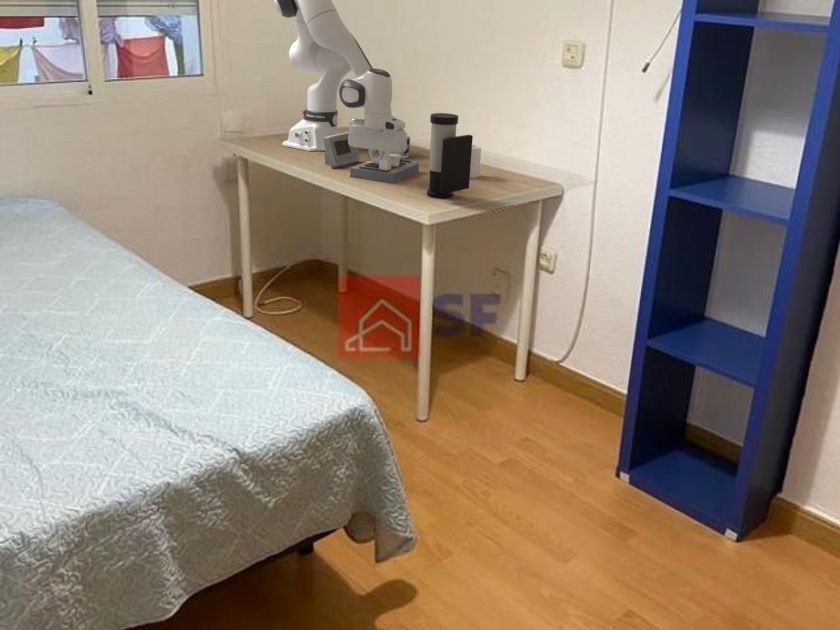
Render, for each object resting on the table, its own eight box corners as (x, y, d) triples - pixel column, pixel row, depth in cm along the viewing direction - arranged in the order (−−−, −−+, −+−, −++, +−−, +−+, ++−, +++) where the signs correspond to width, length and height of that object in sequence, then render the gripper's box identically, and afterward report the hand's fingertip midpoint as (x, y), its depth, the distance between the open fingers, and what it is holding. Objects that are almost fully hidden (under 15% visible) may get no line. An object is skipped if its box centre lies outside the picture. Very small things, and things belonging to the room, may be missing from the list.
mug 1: (389, 151, 314) (389, 130, 311) (414, 155, 310) (415, 133, 307) (373, 157, 303) (374, 135, 300) (399, 161, 299) (400, 139, 296)
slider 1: (380, 159, 284) (381, 149, 282) (384, 158, 286) (384, 148, 285) (388, 160, 283) (388, 150, 281) (392, 159, 285) (392, 149, 284)
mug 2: (442, 173, 284) (443, 144, 280) (457, 170, 290) (459, 141, 286) (468, 180, 277) (471, 149, 273) (483, 176, 282) (486, 147, 278)
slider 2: (379, 169, 270) (379, 159, 268) (382, 167, 272) (383, 157, 271) (387, 170, 269) (387, 160, 267) (391, 169, 271) (391, 158, 270)
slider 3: (387, 165, 276) (387, 155, 274) (391, 164, 278) (391, 153, 277) (395, 166, 275) (395, 156, 273) (399, 165, 277) (399, 154, 276)
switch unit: (350, 176, 273) (350, 166, 271) (377, 165, 291) (378, 155, 289) (393, 183, 267) (393, 172, 266) (418, 171, 285) (419, 161, 284)
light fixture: (442, 189, 262) (447, 111, 253) (468, 196, 256) (474, 116, 246) (416, 195, 254) (420, 115, 245) (443, 202, 247) (448, 120, 238)
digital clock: (332, 169, 282) (332, 138, 278) (315, 164, 287) (315, 134, 283) (366, 163, 293) (366, 133, 289) (349, 159, 298) (349, 129, 294)
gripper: (345, 118, 266) (344, 161, 272) (401, 126, 259) (400, 169, 264) (354, 116, 272) (353, 157, 277) (409, 123, 265) (408, 165, 270)
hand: (376, 163), depth 271 cm, fingers closed
